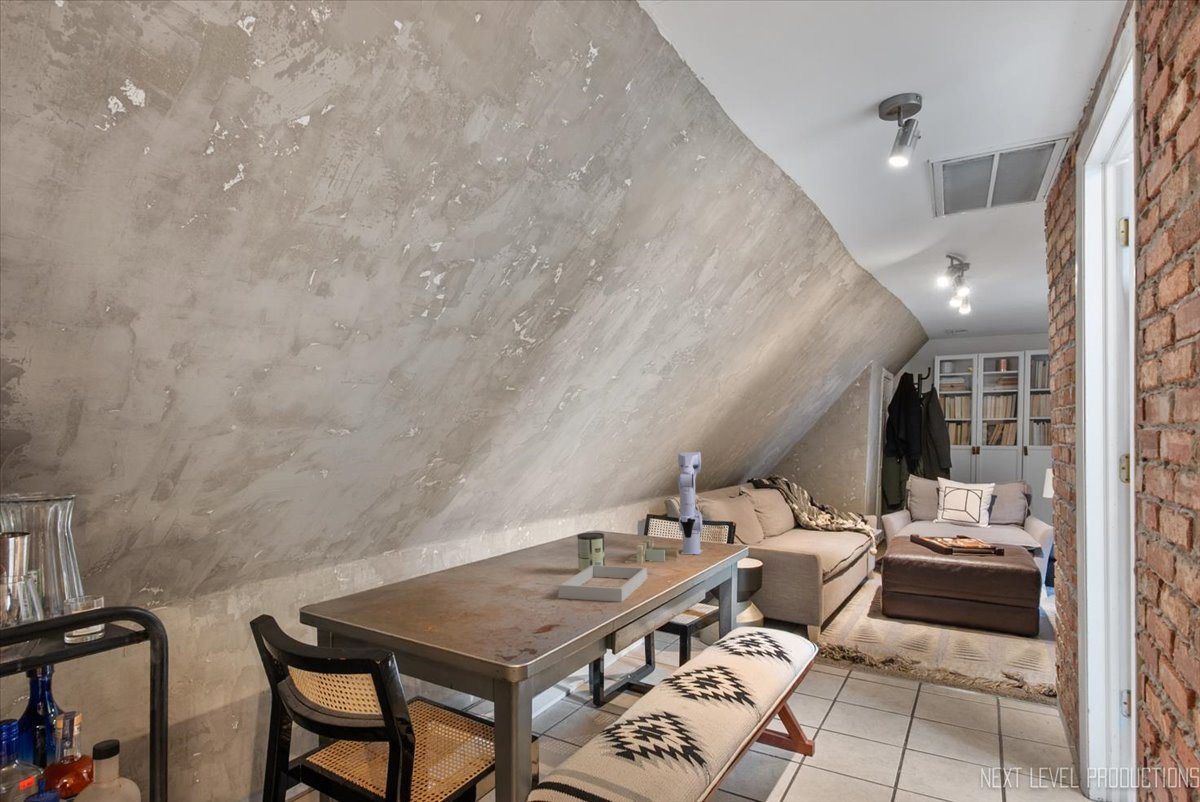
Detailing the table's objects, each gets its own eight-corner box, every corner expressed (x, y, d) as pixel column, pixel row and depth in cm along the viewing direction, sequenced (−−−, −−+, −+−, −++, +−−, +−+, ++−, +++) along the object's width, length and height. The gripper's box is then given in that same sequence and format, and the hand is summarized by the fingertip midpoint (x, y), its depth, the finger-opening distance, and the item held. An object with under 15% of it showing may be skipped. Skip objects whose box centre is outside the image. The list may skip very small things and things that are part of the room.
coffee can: (587, 568, 246) (586, 531, 247) (610, 570, 241) (609, 533, 242) (572, 573, 238) (571, 535, 238) (595, 576, 232) (594, 537, 233)
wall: (638, 554, 273) (637, 537, 273) (653, 554, 270) (653, 538, 271) (625, 563, 254) (624, 545, 254) (641, 564, 251) (641, 546, 252)
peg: (654, 559, 262) (654, 546, 262) (678, 560, 259) (678, 547, 259) (652, 561, 258) (652, 548, 259) (676, 561, 255) (676, 549, 256)
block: (651, 557, 265) (651, 546, 265) (669, 557, 263) (668, 546, 263) (646, 561, 257) (645, 549, 257) (664, 561, 254) (664, 550, 255)
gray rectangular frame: (591, 576, 232) (591, 565, 232) (647, 579, 225) (647, 567, 225) (558, 597, 201) (558, 585, 202) (621, 601, 195) (621, 588, 195)
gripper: (693, 505, 249) (694, 540, 248) (699, 501, 263) (701, 534, 262) (676, 505, 251) (677, 540, 250) (683, 501, 265) (684, 534, 264)
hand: (688, 537), depth 256 cm, fingers closed
